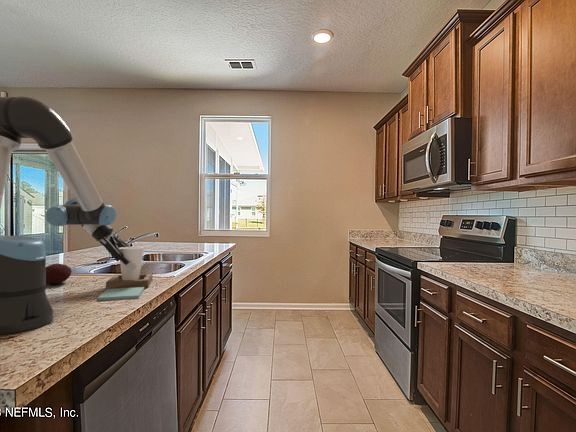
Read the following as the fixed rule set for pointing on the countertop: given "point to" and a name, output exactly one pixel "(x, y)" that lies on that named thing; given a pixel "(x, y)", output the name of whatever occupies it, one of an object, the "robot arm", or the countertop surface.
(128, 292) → the mat
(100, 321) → the countertop surface
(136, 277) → the foam cup
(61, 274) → the potato
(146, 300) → the countertop surface
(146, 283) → the brown flat square frame
